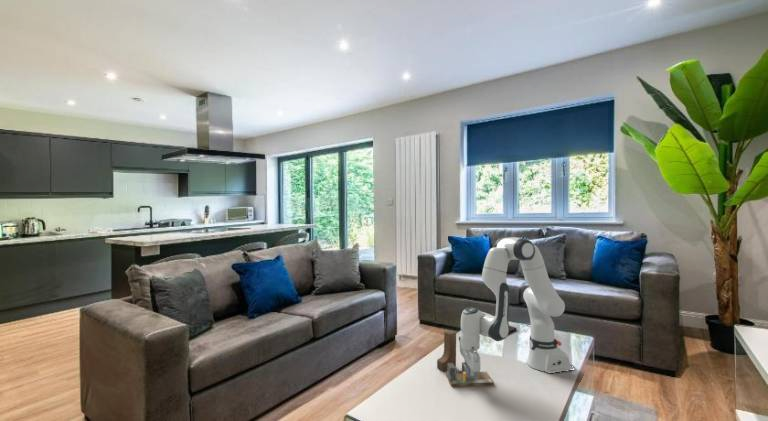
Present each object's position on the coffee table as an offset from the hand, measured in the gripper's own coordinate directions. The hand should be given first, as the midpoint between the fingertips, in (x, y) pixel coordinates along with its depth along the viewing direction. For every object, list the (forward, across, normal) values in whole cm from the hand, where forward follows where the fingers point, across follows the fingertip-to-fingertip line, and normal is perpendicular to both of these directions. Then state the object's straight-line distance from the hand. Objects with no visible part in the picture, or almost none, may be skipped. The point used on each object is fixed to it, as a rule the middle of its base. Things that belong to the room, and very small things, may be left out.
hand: (469, 372), depth 167 cm
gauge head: (+2, -1, +1) cm, 3 cm away
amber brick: (+2, -4, +4) cm, 6 cm away
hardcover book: (+5, +59, -36) cm, 69 cm away
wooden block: (+4, +13, +8) cm, 16 cm away
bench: (+4, 0, 0) cm, 4 cm away
